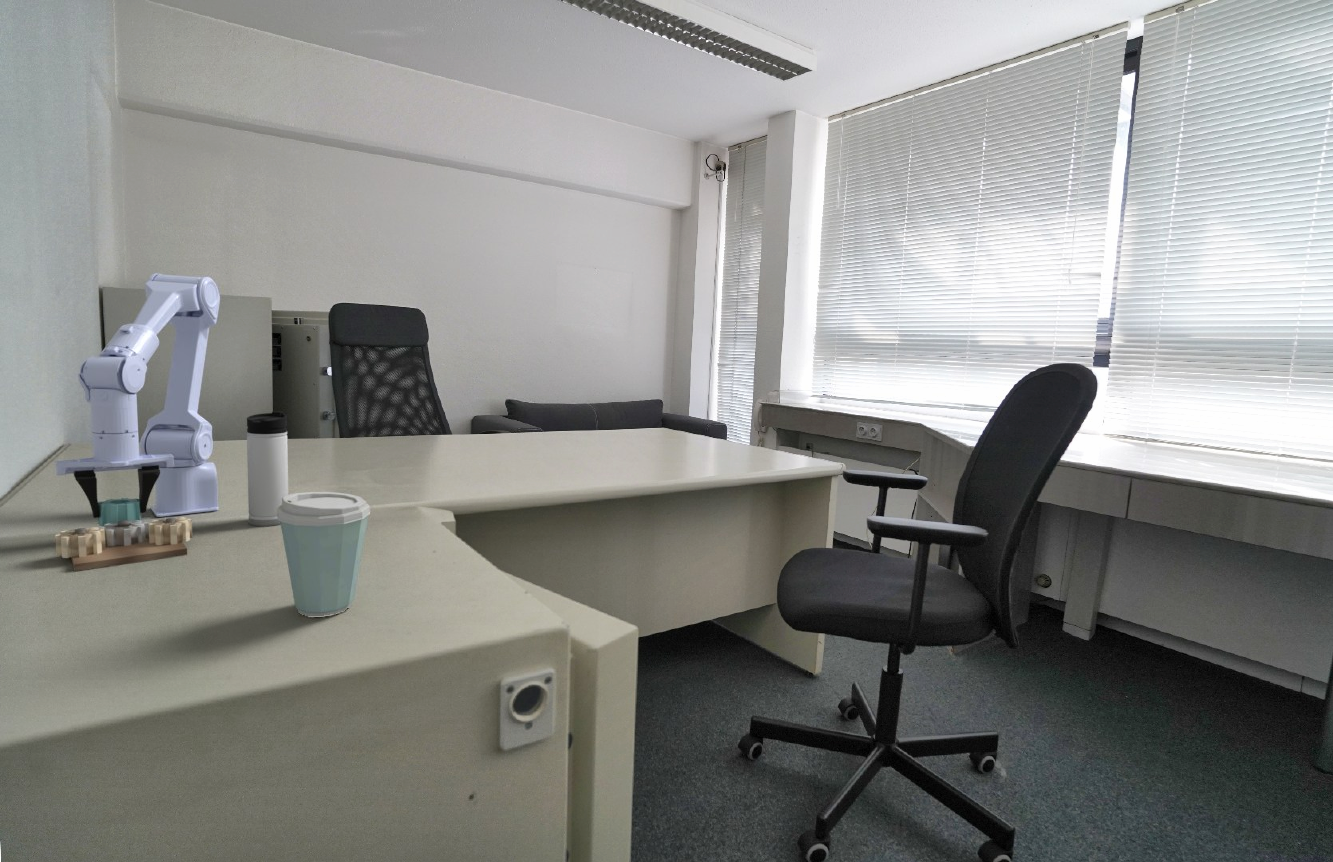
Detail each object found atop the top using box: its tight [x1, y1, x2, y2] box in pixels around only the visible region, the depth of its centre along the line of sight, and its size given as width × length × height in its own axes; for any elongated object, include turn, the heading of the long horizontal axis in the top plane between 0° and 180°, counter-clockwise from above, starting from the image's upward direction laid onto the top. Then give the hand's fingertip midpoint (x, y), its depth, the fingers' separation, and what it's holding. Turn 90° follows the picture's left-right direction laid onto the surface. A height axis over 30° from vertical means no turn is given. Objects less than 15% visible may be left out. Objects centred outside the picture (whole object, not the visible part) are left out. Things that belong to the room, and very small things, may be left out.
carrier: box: [54, 516, 193, 572], centre depth 104 cm, size 16×18×4 cm
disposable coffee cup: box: [276, 491, 371, 617], centre depth 85 cm, size 11×11×15 cm
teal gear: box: [97, 497, 142, 527], centre depth 108 cm, size 5×5×4 cm
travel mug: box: [246, 411, 289, 527], centre depth 120 cm, size 6×7×20 cm
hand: (119, 514), depth 108 cm, fingers closed on teal gear, 5 cm apart
